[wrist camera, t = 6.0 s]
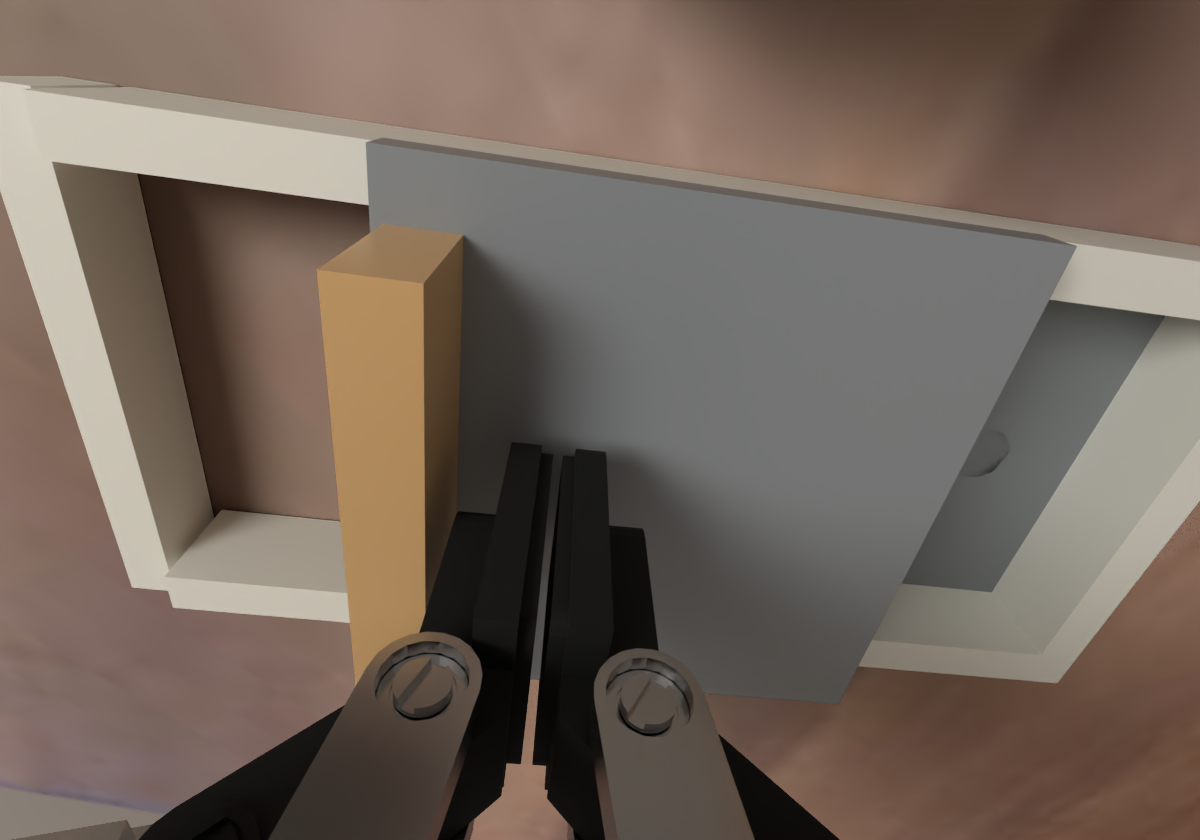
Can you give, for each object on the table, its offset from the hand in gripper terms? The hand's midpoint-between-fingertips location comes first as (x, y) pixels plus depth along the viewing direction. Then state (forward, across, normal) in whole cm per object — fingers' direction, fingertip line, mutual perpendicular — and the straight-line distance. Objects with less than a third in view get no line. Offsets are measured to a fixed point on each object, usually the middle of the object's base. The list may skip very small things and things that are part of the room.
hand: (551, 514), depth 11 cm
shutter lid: (+1, -2, 0) cm, 3 cm away
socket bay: (+4, -2, 0) cm, 5 cm away
